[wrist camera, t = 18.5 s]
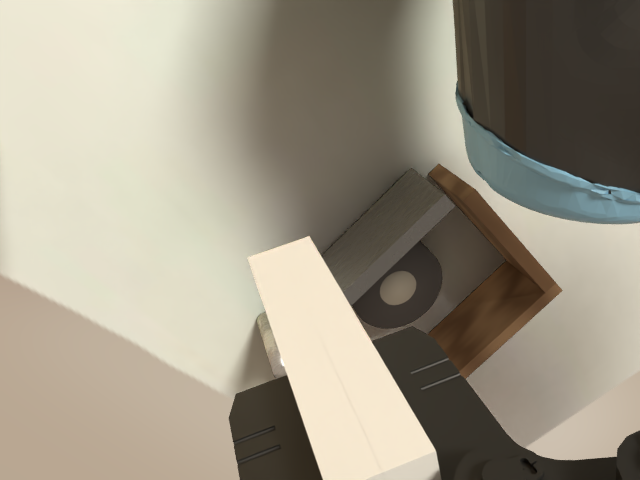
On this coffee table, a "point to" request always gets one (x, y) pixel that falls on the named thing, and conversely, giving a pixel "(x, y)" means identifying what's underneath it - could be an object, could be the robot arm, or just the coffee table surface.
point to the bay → (490, 286)
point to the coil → (402, 290)
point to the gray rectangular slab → (375, 244)
